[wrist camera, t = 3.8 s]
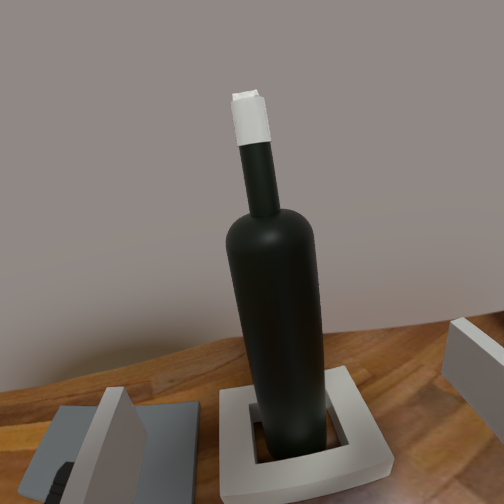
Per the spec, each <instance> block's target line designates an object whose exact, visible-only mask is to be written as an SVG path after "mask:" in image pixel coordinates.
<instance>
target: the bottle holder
mask: <svg viewBox="0 0 504 504" xmlns="http://www.w3.org/2000/svg"><path fill="white" fill-rule="evenodd" d="M325 394H326V408H327V410H328V413H329V415H330V418H331V421H332V423H333V426H334V428H335V431H336V433H337V436H338V438H339V441H340V443H341V447H338V448H334V449H330V450H326V451H322V452H318V453H314V454H310V455H305V456H300V457H296V458H291V459H285V460H280V461H274V462H268V463H262V464H258V459H257V450H256V442H255V434H254V425H253V423H254V422H261V416H260V412H259V407H258V402H257V398H256V393H255V389H254V385H249V386H243V387H236V388H229V389H222V390H220V395H219V465H220V497H221V499H222V501H223V503H224V504H286V503H292V502H297V501H302V500H307V499H311V498H316V497H320V496H324V495H328V494H332V493H336V492H340V491H343V490H347V489H350V488H353V487H357V486H360V485H363V484H366V483H369V482H372V481H375V480H378V479H381V478H384V477H387V476H389V475H390V472H391V469H392V465H393V462H394V456H393V454H392V452H391V450H390V448H389V446H388V444H387V443H386V441H385V439H384V437H383V435H382V433H381V431H380V429H379V428H378V426H377V424H376V422H375V420H374V418H373V416H372V415H371V413H370V411H369V409H368V407H367V405H366V404H365V402H364V400H363V398H362V396H361V394H360V393H359V391H358V389H357V387H356V385H355V383H354V382H353V380H352V378H351V376H350V374H349V373H348V371H347V369H346V367H345V365H344V366H341V367H337V368H333V369H328V370H325Z"/></svg>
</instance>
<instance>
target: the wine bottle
mask: <svg viewBox="0 0 504 504" xmlns="http://www.w3.org/2000/svg"><path fill="white" fill-rule="evenodd" d="M232 95H233V101H232V102H230V105H231V111H232V117H233V123H234V129H235V135H236V141H237V146H238V147H239V149H240V156H241V161H242V168H243V173H244V180H245V186H246V192H247V198H248V203H249V210H250V214H247V215H245V216H243V217H241V218H239V219H238V220H237V221H236V222H234V223H233V225H232V226H231V227H230V229H229V231H228V234H227V237H226V250H227V256H228V261H229V266H230V271H231V277H232V281H233V287H234V292H235V297H236V302H237V307H238V312H239V316H240V322H241V327H242V332H243V337H244V342H245V346H246V351H247V356H248V361H249V365H250V370H251V375H252V379H253V384H254V389H255V393H256V398H257V402H258V407H259V412H260V416H261V421H262V425H263V429H264V434H265V438H266V443H267V447H268V451H269V453H270V454H271V455H272V457H273V458H275V459H276V460H278V461H280V460H285V459H291V458H296V457H300V456H305V455H310V454H314V453H318V452H322V451H323V450H324V448H325V446H326V441H327V437H326V394H325V369H324V350H323V334H322V319H321V306H320V294H319V283H318V272H317V262H316V252H315V244H314V234H313V230H312V227H311V225H310V224H309V222H308V221H307V220H306V219H305V218H304V217H303V216H302V215H301V214H299V213H297V212H295V211H292V210H288V209H280V203H279V196H278V189H277V183H276V177H275V170H274V163H273V157H272V151H271V145H270V142H271V135H270V129H269V123H268V117H267V112H266V106H265V100H264V97H260V96H259V94H258V92H257V89H256V90H253V91H246V92H241V93H233V94H232Z"/></svg>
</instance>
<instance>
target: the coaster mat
mask: <svg viewBox="0 0 504 504" xmlns="http://www.w3.org/2000/svg"><path fill="white" fill-rule="evenodd" d="M134 408H135V410H136V412H137V414H138V416H139V418H140V420H141V422H142V424H143V426H144V428H145V430H146V431H147V433H148V436H147V441H146V445H145V450H144V454H143V459H142V463H141V468H140V473H139V478H138V483H137V488H136V493H135V498H134V503H133V504H194V497H195V477H196V460H197V444H198V429H199V416H200V404H199V401H195V402H184V403H173V404H159V405H141V406H134ZM97 409H98V406H60V408H59V410H58V411H57V413H56V415H55V417H54V419H53V420H52V422H51V424H50V426H49V428H48V430H47V431H46V433H45V435H44V437H43V439H42V441H41V443H40V445H39V447H38V449H37V450H36V452H35V454H34V456H33V458H32V460H31V462H30V464H29V466H28V469H27V471H26V473H25V475H24V477H23V479H22V481H21V483H20V485H19V488H18V490H17V492H18V493H19V494H20V495H22V496H25V497H28V498H32V499H35V500H38V501H42V502H45V500H46V498H47V495H48V494H49V490H50V487H51V485H53V480H54V477H55V475H56V473H57V471H58V470H59V468H60V467H61V466H62V465H63V464H64V463H65V462H66V461H68V462H75V461H76V459H77V456H78V454H79V451H80V449H81V446H82V444H83V441H84V439H85V437H86V434H87V432H88V429H89V427H90V425H91V422H92V420H93V418H94V415H95V413H96V411H97Z"/></svg>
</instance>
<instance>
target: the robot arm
mask: <svg viewBox="0 0 504 504" xmlns="http://www.w3.org/2000/svg"><path fill="white" fill-rule="evenodd" d="M441 374H442V375H443V376H444V377H445V378H446V379H447V380H448V382H449V383H450V384H451V385H452V386H453V387H454V388H455V389H456V390H457V391H458V393H459V394H460V395H461V396H462V397H463V398H464V399H465V400H466V401H467V403H468V404H469V405H470V406H471V407H472V408H473V409H474V410H475V412H476V413H477V414H478V415H479V416H480V417H481V418H482V420H483V421H484V422H485V423H486V424H487V425H488V427H489V428H490V429H491V430H492V431H493V432H494V434H495V435H496V436H497V437H498V438H499V440H500V441H501V442H502V443H503V444H504V348H503V347H502V346H500V345H499V344H498V343H497V342H495V341H494V340H493V339H491V338H490V337H489V336H488V335H486V334H485V333H484V332H482V331H481V330H480V329H478V328H477V327H476V326H474V325H473V324H472V323H470V322H469V321H468V320H466V319H465V318H464V317H461V318H459V319H456V320H453V321H451V322H450V325H449V332H448V338H447V344H446V349H445V354H444V360H443V364H442V369H441ZM147 436H148V433H147V431H146V430H145V428H144V426H143V424H142V422H141V420H140V418H139V416H138V414H137V412H136V410H135V408H134V406H133V404H132V402H131V400H130V398H129V396H128V394H127V392H126V390H125V387H107V389H106V391H105V393H104V395H103V397H102V400H101V402H100V404H99V406H98V409H97V411H96V413H95V415H94V418H93V420H92V422H91V425H90V427H89V429H88V432H87V434H86V437H85V439H84V441H83V444H82V446H81V449H80V451H79V454H78V456H77V459H76V461H75V462H68V461H66V462H65V463H64V464H63V465H62V466H61V467H60V468H59V470H58V471H57V473H56V475H55V477H54V480H53V485H51V487H50V490H49V494H48V495H47V498H46V500H45V503H44V504H133V503H134V498H135V493H136V488H137V483H138V478H139V473H140V468H141V463H142V459H143V454H144V450H145V445H146V441H147Z"/></svg>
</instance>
